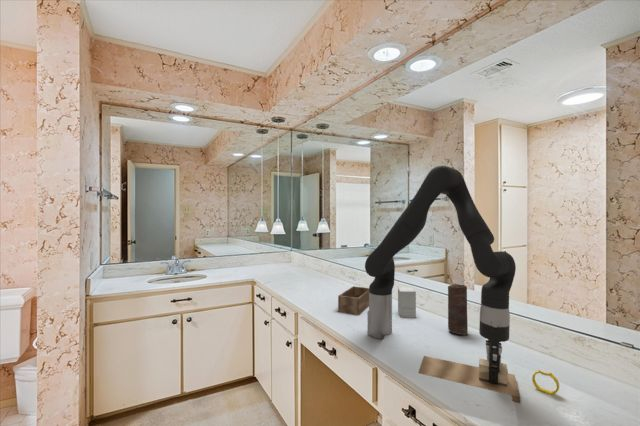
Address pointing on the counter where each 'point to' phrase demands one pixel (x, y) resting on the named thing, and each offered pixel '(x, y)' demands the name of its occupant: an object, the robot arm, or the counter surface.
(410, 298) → the supplement box
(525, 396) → the counter surface
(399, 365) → the counter surface
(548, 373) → the yellow wavy ring
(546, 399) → the counter surface
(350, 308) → the open wooden box
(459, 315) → the rusty brown cylinder
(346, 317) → the counter surface
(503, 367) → the block
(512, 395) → the board
